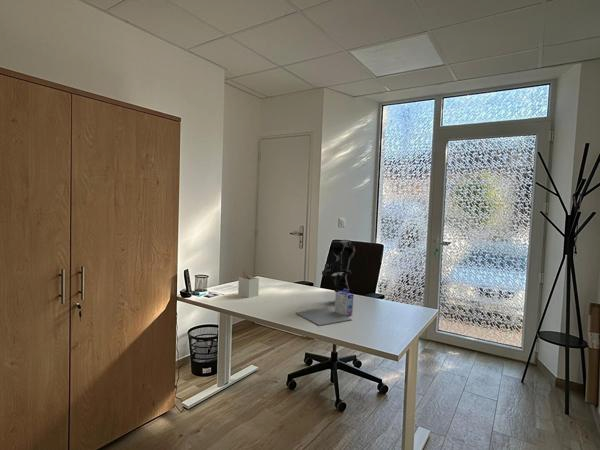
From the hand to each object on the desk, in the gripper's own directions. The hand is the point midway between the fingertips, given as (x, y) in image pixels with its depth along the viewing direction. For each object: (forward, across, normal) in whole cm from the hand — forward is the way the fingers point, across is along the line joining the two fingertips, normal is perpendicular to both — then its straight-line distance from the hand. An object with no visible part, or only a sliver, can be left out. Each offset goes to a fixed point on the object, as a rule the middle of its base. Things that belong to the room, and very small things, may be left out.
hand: (336, 285), depth 224 cm
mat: (+13, +19, +16) cm, 28 cm away
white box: (+14, +41, -45) cm, 63 cm away
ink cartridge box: (+13, +4, +15) cm, 20 cm away
